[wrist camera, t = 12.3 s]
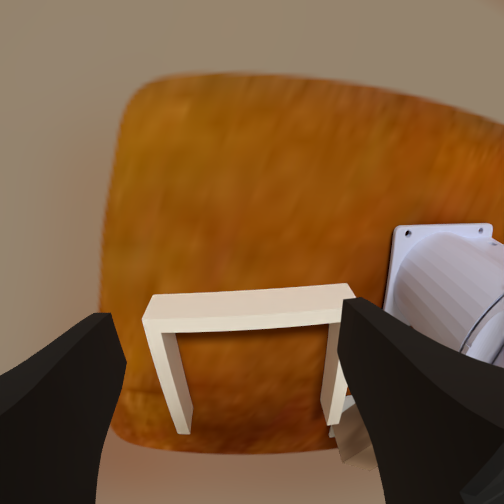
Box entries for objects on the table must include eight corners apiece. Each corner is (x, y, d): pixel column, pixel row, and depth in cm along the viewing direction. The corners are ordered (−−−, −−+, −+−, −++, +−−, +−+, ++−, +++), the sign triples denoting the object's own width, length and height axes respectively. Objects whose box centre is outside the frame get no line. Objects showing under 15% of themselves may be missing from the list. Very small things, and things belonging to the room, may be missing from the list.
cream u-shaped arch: (346, 283, 21) (361, 305, 18) (331, 398, 25) (338, 423, 22) (153, 294, 20) (141, 319, 18) (182, 407, 25) (178, 433, 22)
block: (368, 393, 24) (385, 435, 20) (392, 407, 26) (409, 445, 21) (330, 420, 26) (342, 462, 21) (357, 432, 27) (370, 470, 22)
